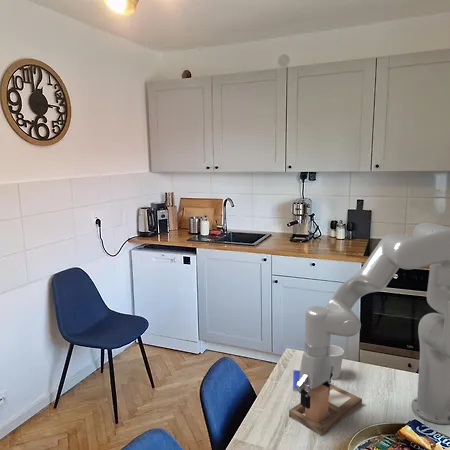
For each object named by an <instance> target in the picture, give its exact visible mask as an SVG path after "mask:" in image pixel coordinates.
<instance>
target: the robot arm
mask: <svg viewBox="0 0 450 450" xmlns="http://www.w3.org/2000/svg"><path fill="white" fill-rule="evenodd" d="M428 266H429V272H428V273H429V274H428V283H427V290H426V301H427V304H428V305H429V307H431V309H433V310H435V311H436V312H429V313H427V314H424V316H422V317H421V318H420V320H419V323H418V326H417V327H418V329H417V335H418V340H419V341H418V342H419V365H418V379H417V380H418V382H417V396H416V397H415V398H413V399H412V401H411V404H410V405H411V410H412V411H413V413H414V414H415V415H416V416H418V417H419V418H421V419H423V420H425V421H427V422H430V423H433V424H438V425H449V424H450V226H449V227H448V226H444V225H441V224H437V223H435V222H434V223H433V222H421V223H418V224H417V225H416V226H415V227H414V229H413V232H412V237H408V236H405V235H401V234H398V233H388V234H386V235H384V236H383V237H382V239H381V240H379V242H378V244H377V245H376V246H375V248H374V249H373V251H372V252H371V254H370V255H369V257H368V258H367V259H366V261H365V262H364V264H363V265H362V267H361V268H360V270H359V271H358V272H357V273H355V274H354V275H353V276H351V277H350V278H348V279H347V280H346V281H345V282H343V283H342V284H341V285H340V286H339V287H338V288H337V289H336V291H335V292H334V293H333V295H332V296H331V298H329V301H328V302H327V304H326V307H324V306H318V305H317V306H311V307H308V308H307V309H306V311H305V324H304V325H305V326H304V348H303V349H304V352H303V354H302V357H301V361H300V368H299V371H300V381H299V382H298V383H297V385H296V386H297V389H298V391H297V392H298V393H299V394H300V403H299V404H301V405H302V406H304V407H306V408H307V409H309V408H310V396H309V395H310V392H311V390H312V389H314V388H316V387H318V386H319V385H321V384H323V385H325V386H327V387H329V394H330V384H332V379H331V378H332V375H333V370H334V366H332V365H331V357H330V345H331V337H332V336H339V337H346V338H347V337H348V338H349V337H354V336H355V335H358V334H359V332H360V330H361V327H362V323H361V320H360V318H359V316H358V315H357V314H356V313H355V312H354V311H353V310H352V308H353V307H354V305H355V304H356V303H357V302H358V301H359V300H360V299H361V298H362V297H363V296H365V295H367V294H370V293H377V292H382V291H384V290H385V289H386V288H387V286H388V284H389V283H390V281H391V280H392V279H393V277H394V276H395V275H396V273H397V272H398V271H399V269H403V270H416V269H420V268H424V267H428ZM307 382H308V384H309V385H310V386H309V385H307ZM305 387H308V390H307V392H306V391H305V390H304V389H305Z"/></svg>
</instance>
